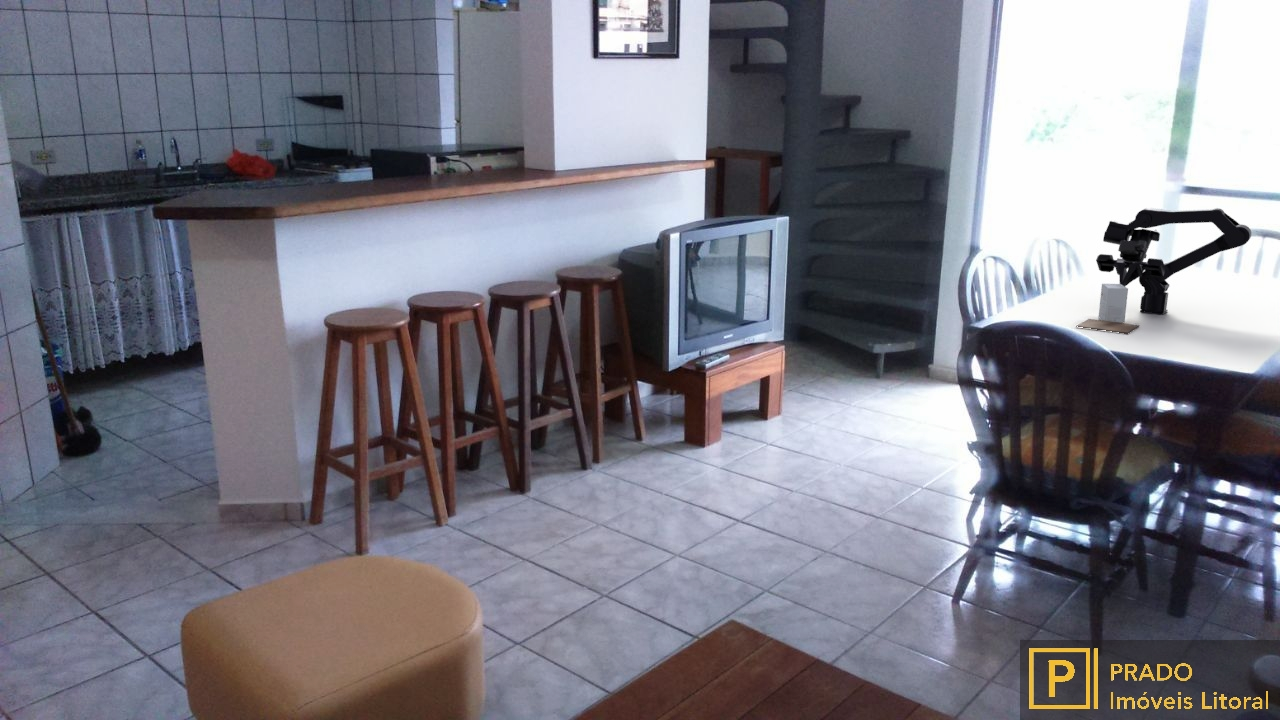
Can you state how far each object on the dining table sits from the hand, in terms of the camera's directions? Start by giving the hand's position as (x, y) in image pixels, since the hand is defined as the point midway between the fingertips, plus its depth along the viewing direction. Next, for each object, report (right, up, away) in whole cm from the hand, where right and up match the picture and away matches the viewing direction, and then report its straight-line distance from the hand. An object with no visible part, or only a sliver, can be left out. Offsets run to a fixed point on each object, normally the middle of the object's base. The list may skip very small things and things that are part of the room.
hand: (1121, 287), depth 300 cm
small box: (-4, -10, -2) cm, 11 cm away
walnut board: (-10, -13, -12) cm, 20 cm away
